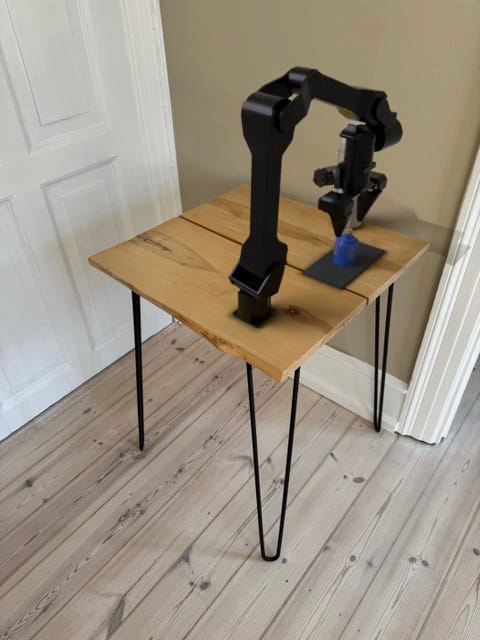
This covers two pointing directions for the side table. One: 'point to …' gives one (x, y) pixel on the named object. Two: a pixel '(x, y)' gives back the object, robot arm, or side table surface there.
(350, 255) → the flask
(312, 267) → the mat
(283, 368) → the side table surface
